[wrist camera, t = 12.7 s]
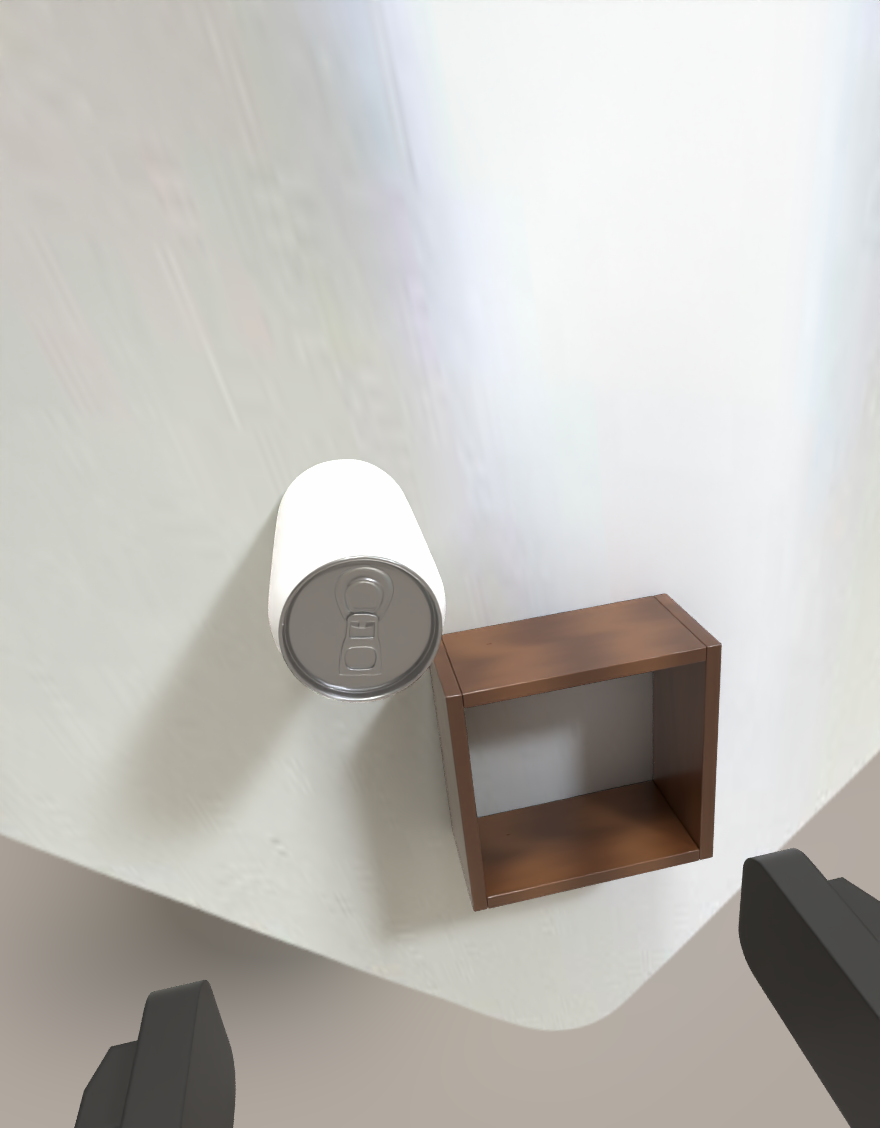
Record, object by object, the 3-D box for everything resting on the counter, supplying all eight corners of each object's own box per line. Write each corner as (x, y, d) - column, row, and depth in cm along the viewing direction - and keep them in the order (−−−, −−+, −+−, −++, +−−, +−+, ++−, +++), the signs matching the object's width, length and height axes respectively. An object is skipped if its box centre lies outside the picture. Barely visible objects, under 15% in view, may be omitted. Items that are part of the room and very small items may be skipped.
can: (414, 459, 36) (463, 546, 25) (405, 582, 38) (446, 711, 27) (277, 453, 34) (264, 541, 23) (276, 581, 37) (264, 715, 26)
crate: (453, 833, 45) (473, 912, 39) (425, 637, 39) (445, 698, 34) (664, 787, 46) (713, 857, 41) (666, 592, 41) (722, 643, 35)
